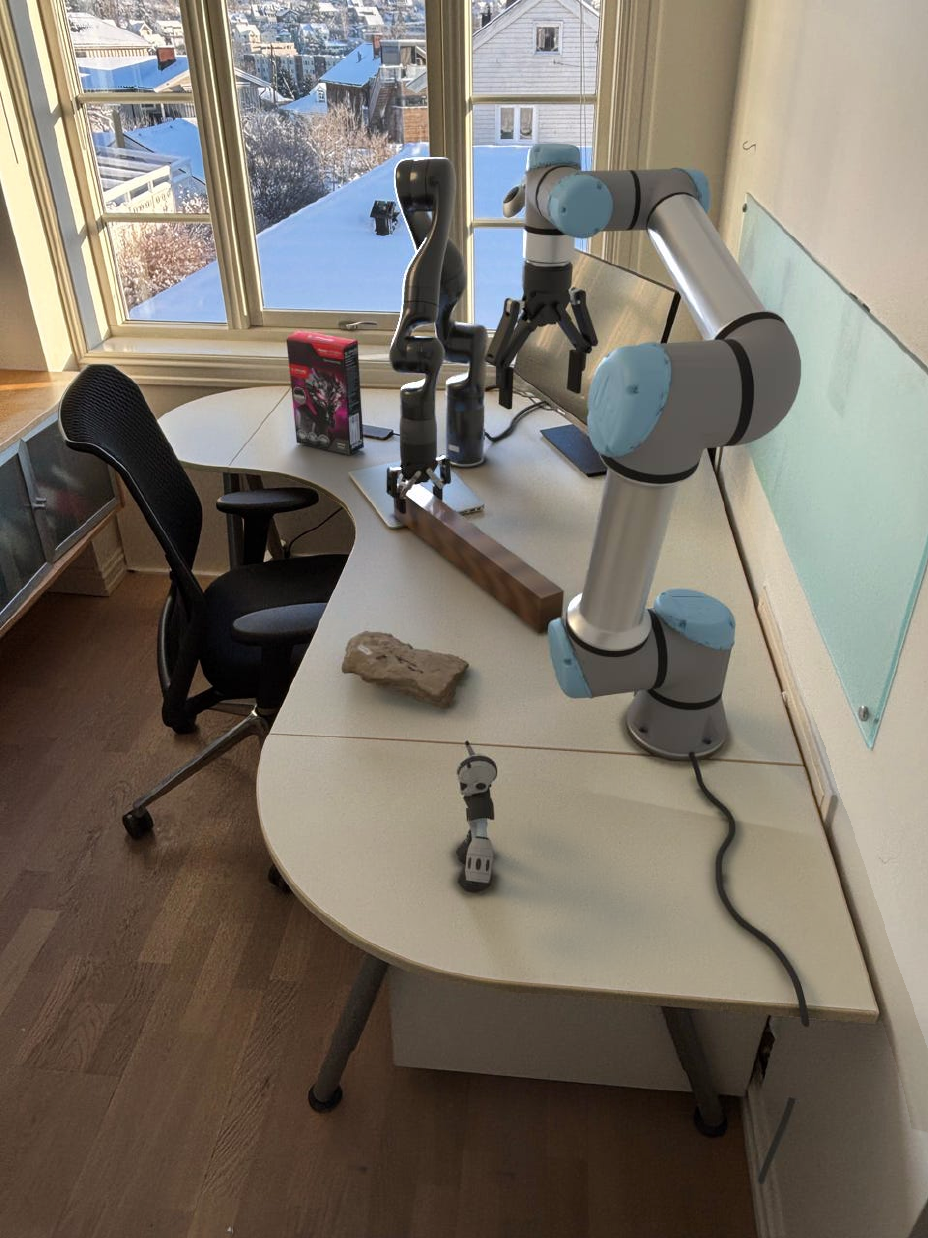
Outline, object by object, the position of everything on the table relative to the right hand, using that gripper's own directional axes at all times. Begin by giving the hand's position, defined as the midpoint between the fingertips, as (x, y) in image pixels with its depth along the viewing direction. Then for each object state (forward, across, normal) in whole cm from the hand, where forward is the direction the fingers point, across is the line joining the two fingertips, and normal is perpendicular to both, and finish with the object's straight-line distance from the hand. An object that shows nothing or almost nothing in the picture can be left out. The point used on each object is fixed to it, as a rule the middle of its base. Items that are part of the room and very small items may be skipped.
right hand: (540, 398), depth 149 cm
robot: (+41, +42, +46) cm, 74 cm away
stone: (+41, +31, +7) cm, 51 cm away
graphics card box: (+41, -1, -88) cm, 97 cm away
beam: (+41, +1, -19) cm, 45 cm away
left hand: (+36, +1, -39) cm, 53 cm away
